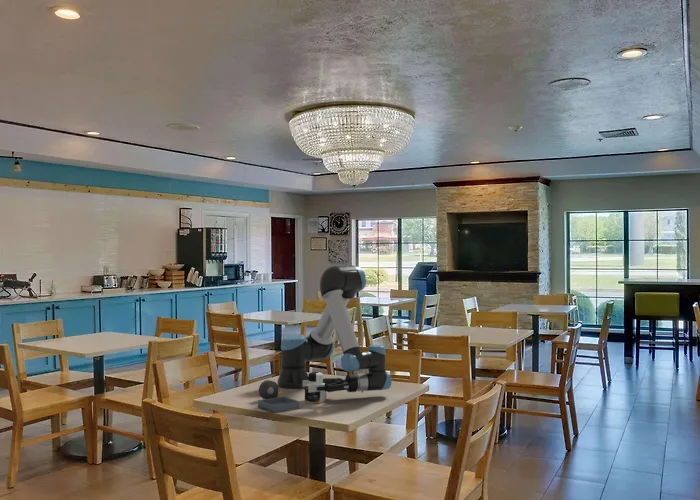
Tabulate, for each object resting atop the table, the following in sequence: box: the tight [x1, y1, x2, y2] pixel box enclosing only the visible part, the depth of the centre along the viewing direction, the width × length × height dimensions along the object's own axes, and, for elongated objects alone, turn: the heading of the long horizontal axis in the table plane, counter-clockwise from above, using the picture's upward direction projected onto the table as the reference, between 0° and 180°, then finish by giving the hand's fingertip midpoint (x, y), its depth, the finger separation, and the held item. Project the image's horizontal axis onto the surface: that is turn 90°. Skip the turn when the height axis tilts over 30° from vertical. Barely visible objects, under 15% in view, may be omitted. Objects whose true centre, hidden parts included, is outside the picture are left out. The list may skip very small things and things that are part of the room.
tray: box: [257, 395, 301, 414], centre depth 245 cm, size 12×12×3 cm
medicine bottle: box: [304, 371, 327, 404], centre depth 256 cm, size 7×7×12 cm
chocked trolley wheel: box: [258, 379, 285, 400], centre depth 260 cm, size 3×11×8 cm, turn 128°
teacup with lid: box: [351, 369, 369, 375], centre depth 303 cm, size 12×9×12 cm
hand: (305, 386), depth 255 cm, fingers closed on medicine bottle, 10 cm apart
